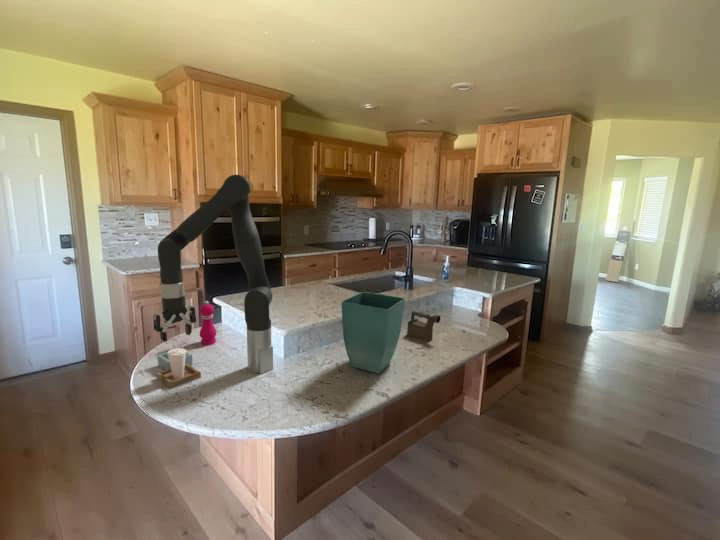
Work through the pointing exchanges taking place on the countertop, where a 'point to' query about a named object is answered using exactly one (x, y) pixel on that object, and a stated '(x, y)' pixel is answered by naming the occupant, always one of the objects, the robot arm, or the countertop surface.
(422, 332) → the dark brown boxy piece
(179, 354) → the smoothie
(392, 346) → the flower pot
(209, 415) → the countertop surface
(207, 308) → the pepper mill
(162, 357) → the holder
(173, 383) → the tray
